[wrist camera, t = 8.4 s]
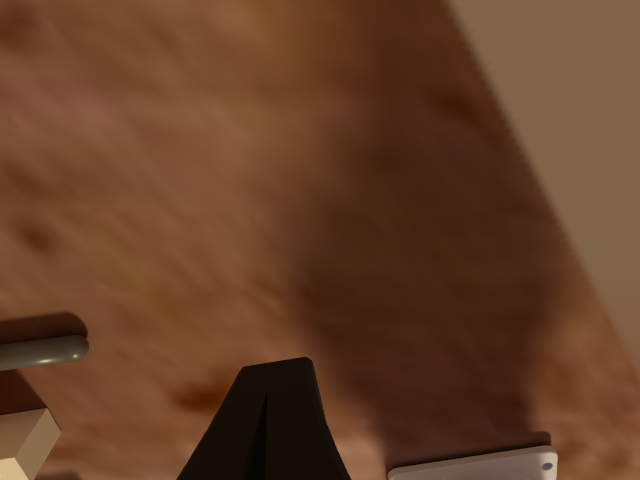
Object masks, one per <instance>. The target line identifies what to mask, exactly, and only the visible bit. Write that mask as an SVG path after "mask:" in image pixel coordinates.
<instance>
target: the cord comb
mask: <svg viewBox="0 0 640 480" xmlns="http://www.w3.org/2000/svg"><path fill="white" fill-rule="evenodd" d="M60 434H61V431H60V429H59V428H58V426H57V424H56V422H55V421H54V419H53V417H52V416H51V414H50V412H49V410H48V409H47V408H44V409H38V410H31V411H25V412H19V413H13V414H7V415H0V480H34V478H35V477H36V475H37V473H38V471H39V470H40V468H41V466H42V465H43V463H44V461H45V460H46V458H47V456H48V455H49V453H50V451H51V449H52V448H53V446H54V444H55V443H56V441H57V439H58V438H59V436H60Z"/></svg>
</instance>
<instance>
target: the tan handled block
mask: <svg viewBox="0 0 640 480" xmlns="http://www.w3.org/2000/svg"><path fill="white" fill-rule="evenodd" d="M88 350H89V343H88V341H87V340H86V338H84V337H83V336H80V335H70V336H62V337H55V338H47V339H40V340H32V341H24V342H17V343H9V344H2V345H0V371H3V370H10V369H18V368H26V367H33V366H41V365H49V364H56V363H64V362H72V361H78V360H80V359H82V358H83V357H85V355H86V354H87V352H88ZM0 395H1V394H0Z"/></svg>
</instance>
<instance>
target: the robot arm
mask: <svg viewBox="0 0 640 480" xmlns="http://www.w3.org/2000/svg"><path fill="white" fill-rule="evenodd" d="M557 461H558V455H557V453H556V451H555V450H554V448H553V447H551V446H548V445H544V446H537V447H531V448H524V449H517V450H511V451H504V452H498V453H491V454H485V455H478V456H471V457H465V458H458V459H452V460H445V461H438V462H432V463H425V464H419V465H412V466H405V467H399V468H395V469H392V470H391V471H390V472H389V473H388V480H556V475H557ZM176 480H351V478H350V476H349V474H348V472H347V470H346V468H345V466H344V463H343V461H342V459H341V457H340V455H339V452H338V450H337V448H336V445H335V443H334V440H333V438H332V435H331V433H330V430H329V428H328V426H327V423H326V419H325V415H324V410H323V406H322V401H321V397H320V393H319V388H318V384H317V379H316V375H315V370H314V366H313V362H312V360H310V359H309V358H307V357H301V358H295V359H288V360H282V361H276V362H270V363H264V364H258V365H251V366H245V367H243V368H242V369H241V370H240V372H239V373H238V375H237V377H236V379H235V381H234V382H233V384H232V386H231V388H230V390H229V392H228V394H227V395H226V397H225V399H224V401H223V403H222V404H221V406H220V408H219V410H218V412H217V413H216V415H215V417H214V419H213V420H212V422H211V424H210V426H209V427H208V429H207V431H206V432H205V434H204V436H203V437H202V439H201V441H200V442H199V444H198V445H197V447H196V449H195V450H194V452H193V454H192V455H191V457H190V459H189V460H188V462H187V464H186V465H185V467H184V468H183V470H182V472H181V473H180V475H179V476H178V478H177V479H176Z"/></svg>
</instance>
